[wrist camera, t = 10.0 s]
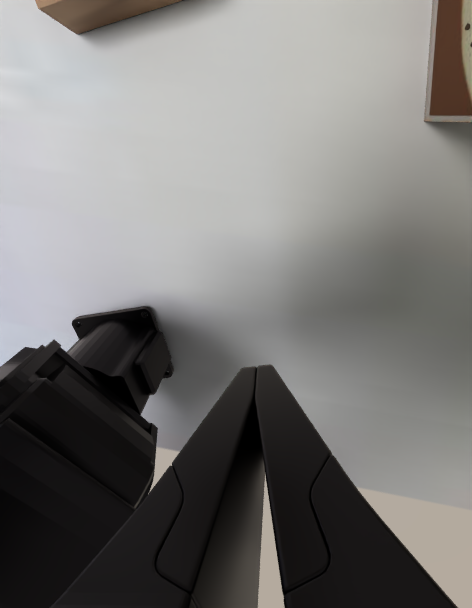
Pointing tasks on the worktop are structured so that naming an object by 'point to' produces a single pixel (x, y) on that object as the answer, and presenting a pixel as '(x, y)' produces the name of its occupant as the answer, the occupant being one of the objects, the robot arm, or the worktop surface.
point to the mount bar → (96, 11)
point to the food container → (450, 62)
